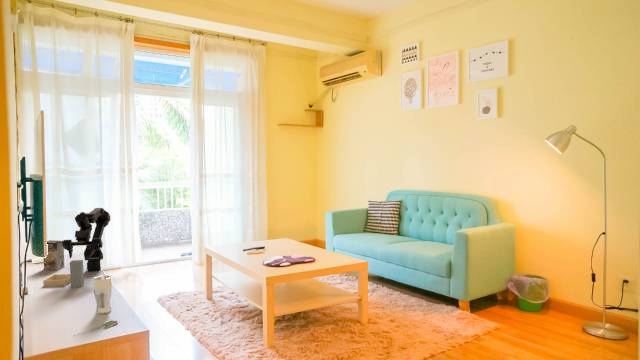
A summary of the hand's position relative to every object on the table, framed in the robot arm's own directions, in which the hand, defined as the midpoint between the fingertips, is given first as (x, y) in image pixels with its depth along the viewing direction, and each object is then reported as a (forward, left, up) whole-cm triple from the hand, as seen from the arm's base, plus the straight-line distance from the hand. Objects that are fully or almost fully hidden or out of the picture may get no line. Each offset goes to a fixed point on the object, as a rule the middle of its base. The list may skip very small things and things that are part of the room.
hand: (79, 257), depth 228 cm
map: (-10, +72, -14) cm, 74 cm away
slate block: (+1, +6, -13) cm, 15 cm away
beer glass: (-13, +51, -14) cm, 55 cm away
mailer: (+9, -7, -13) cm, 17 cm away
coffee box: (+17, -38, -14) cm, 44 cm away
